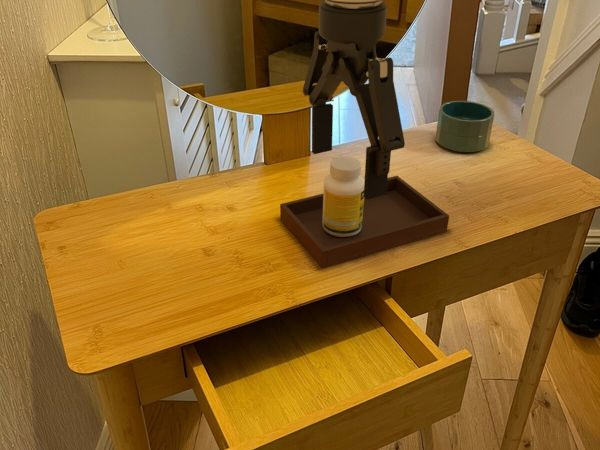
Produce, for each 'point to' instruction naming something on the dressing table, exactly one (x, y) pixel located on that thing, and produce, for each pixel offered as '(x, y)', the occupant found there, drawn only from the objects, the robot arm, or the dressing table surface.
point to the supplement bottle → (343, 197)
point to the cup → (464, 126)
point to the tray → (366, 224)
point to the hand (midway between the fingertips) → (346, 172)
